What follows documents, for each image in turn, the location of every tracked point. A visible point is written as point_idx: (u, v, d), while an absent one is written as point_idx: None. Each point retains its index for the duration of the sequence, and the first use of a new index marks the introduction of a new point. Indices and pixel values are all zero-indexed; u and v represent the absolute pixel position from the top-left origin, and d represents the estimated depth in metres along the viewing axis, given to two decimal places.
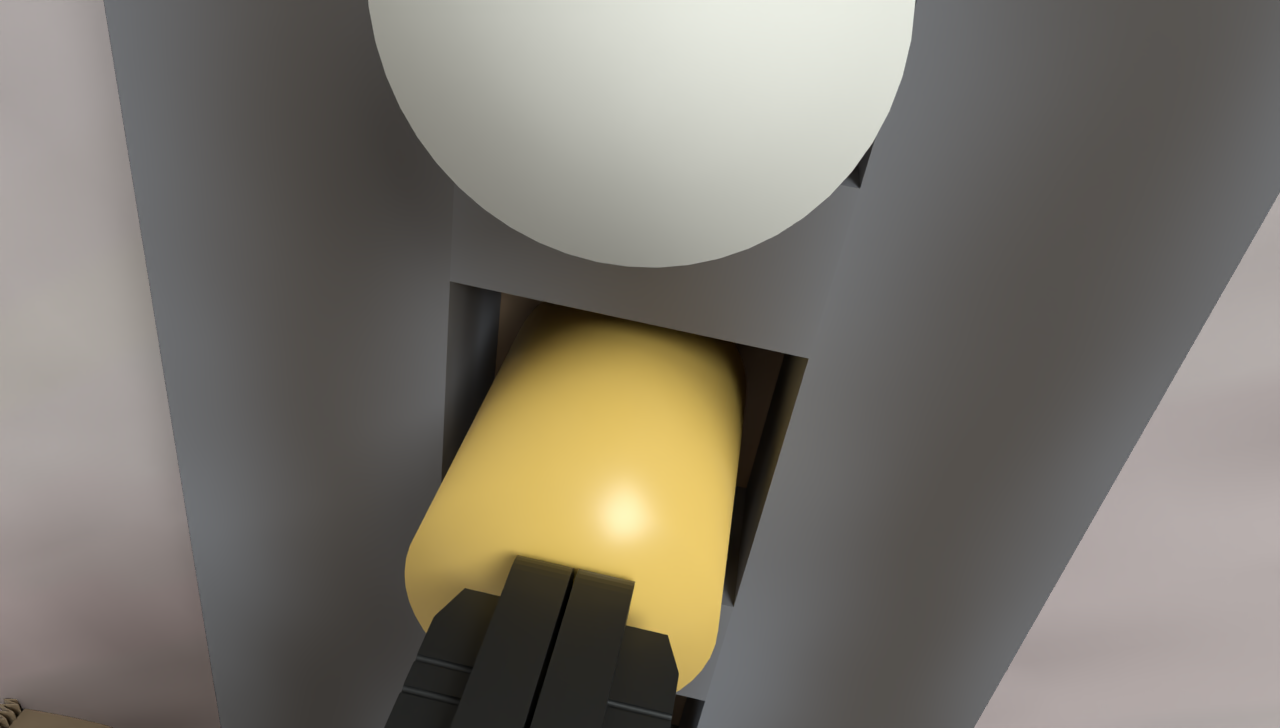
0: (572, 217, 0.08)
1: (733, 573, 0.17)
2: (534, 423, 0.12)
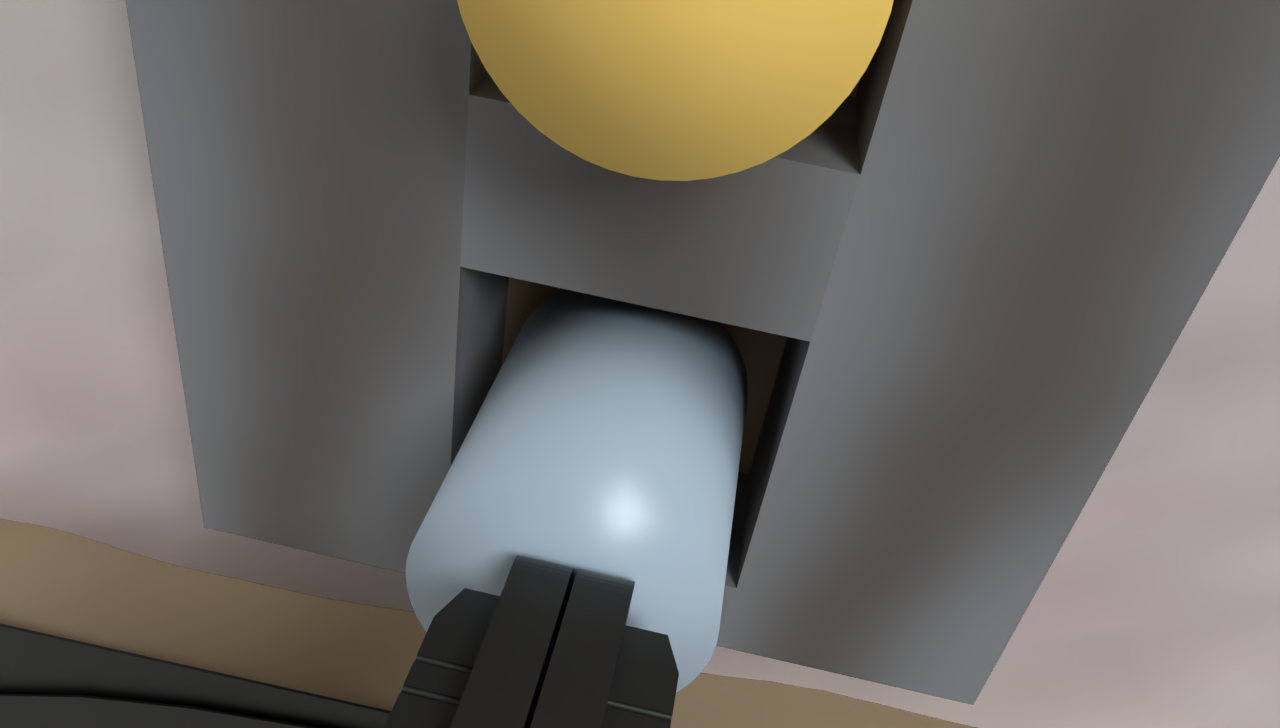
0: None
1: (854, 152, 0.13)
2: None
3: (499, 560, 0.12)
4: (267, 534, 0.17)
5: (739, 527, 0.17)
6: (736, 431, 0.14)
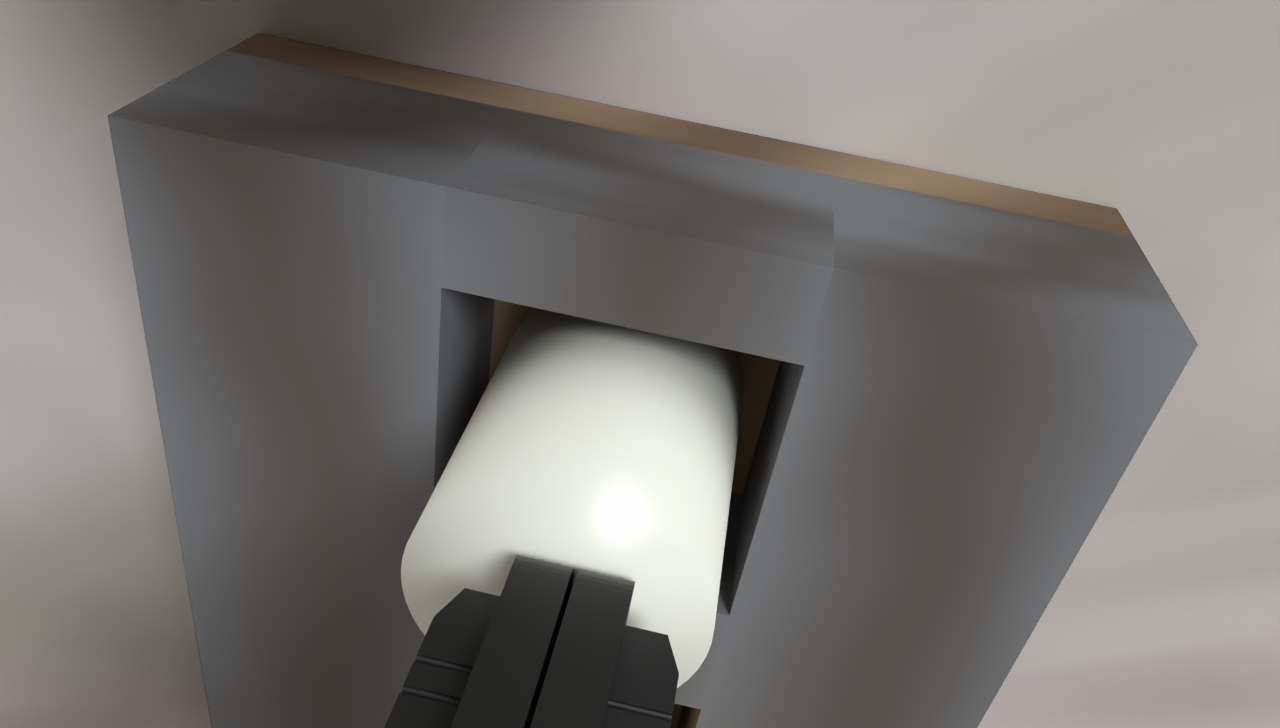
0: None
1: None
2: None
3: None
4: None
5: None
6: None
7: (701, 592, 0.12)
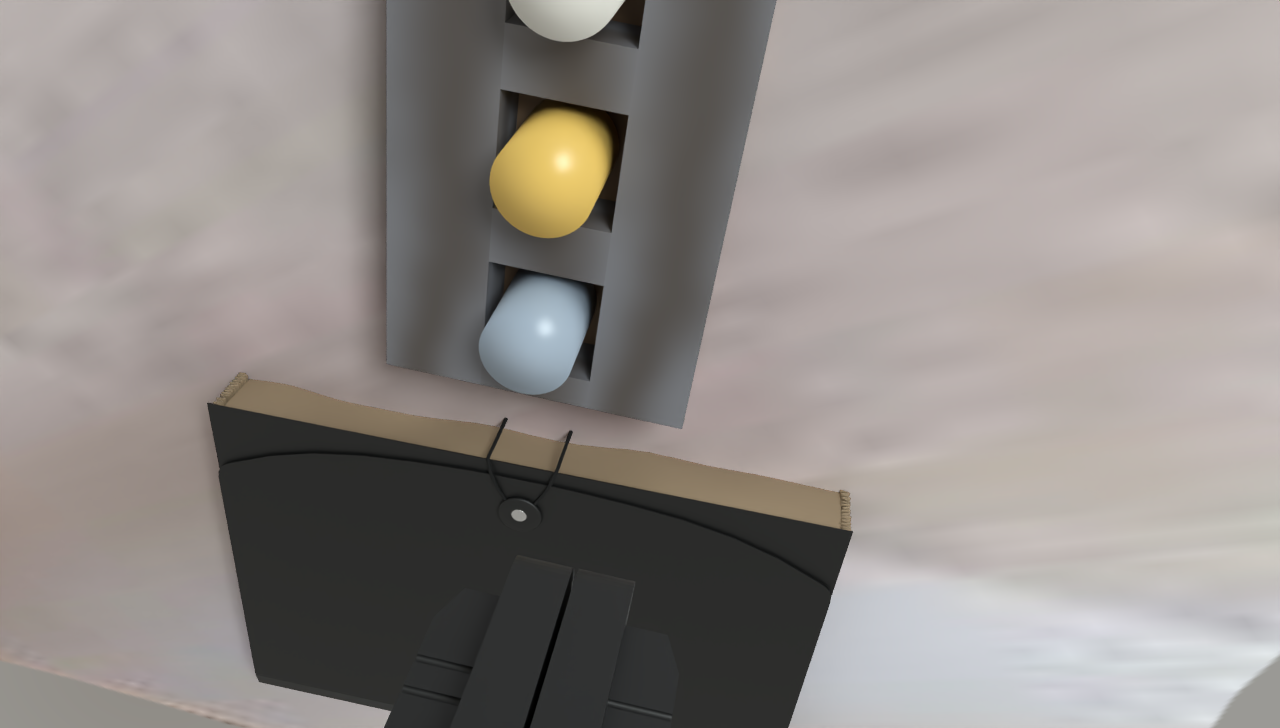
0: (550, 28, 0.33)
1: (613, 225, 0.40)
2: (533, 126, 0.36)
3: (507, 338, 0.40)
4: (411, 366, 0.45)
5: None
6: (586, 308, 0.42)
7: None
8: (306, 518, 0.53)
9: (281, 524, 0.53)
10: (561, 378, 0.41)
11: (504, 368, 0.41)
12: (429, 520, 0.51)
